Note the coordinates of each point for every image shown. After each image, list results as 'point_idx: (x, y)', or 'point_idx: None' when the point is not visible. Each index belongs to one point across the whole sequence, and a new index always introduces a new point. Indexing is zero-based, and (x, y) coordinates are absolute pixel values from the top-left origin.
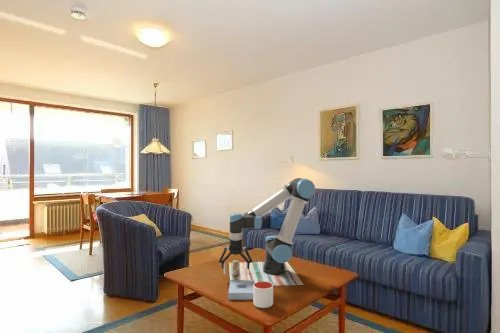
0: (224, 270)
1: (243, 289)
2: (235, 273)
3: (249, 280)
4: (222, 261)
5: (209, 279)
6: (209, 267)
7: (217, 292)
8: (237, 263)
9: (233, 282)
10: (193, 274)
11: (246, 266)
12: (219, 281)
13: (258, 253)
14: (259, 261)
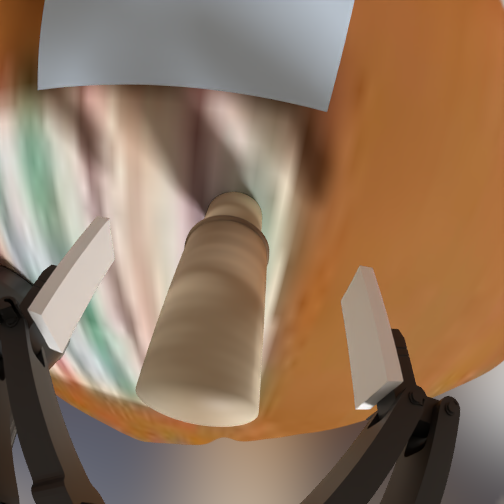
0: (374, 302)
1: None
2: (232, 240)
3: (79, 72)
4: (422, 413)
5: (430, 287)
6: (350, 402)
7: (456, 11)
8: (167, 358)
9: (296, 21)
10: (457, 351)
11: (56, 286)
12: (384, 239)
13: (133, 428)
14: (113, 396)
